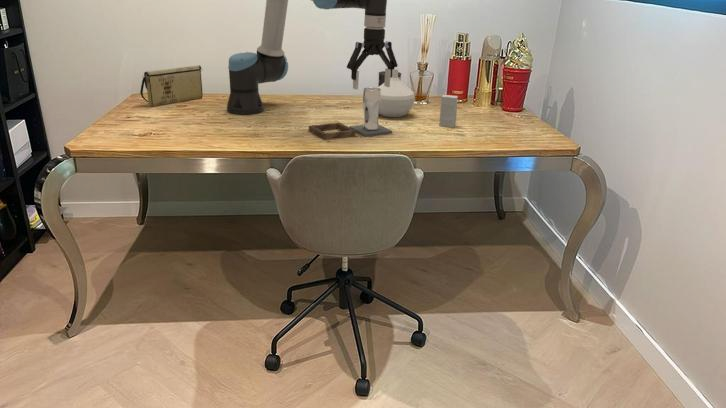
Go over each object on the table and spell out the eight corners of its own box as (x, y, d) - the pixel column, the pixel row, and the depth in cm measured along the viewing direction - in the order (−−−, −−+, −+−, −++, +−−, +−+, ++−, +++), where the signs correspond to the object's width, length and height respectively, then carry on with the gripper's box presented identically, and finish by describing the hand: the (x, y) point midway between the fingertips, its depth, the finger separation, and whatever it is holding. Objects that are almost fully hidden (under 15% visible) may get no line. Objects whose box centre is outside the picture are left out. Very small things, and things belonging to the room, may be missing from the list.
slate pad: (364, 136, 201) (364, 134, 201) (349, 128, 211) (349, 126, 210) (392, 133, 207) (392, 130, 207) (375, 125, 216) (376, 123, 216)
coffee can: (374, 104, 251) (375, 73, 246) (381, 100, 260) (383, 70, 255) (395, 107, 248) (397, 75, 242) (402, 102, 257) (404, 72, 251)
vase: (384, 121, 223) (386, 74, 215) (363, 111, 238) (365, 67, 230) (421, 117, 231) (425, 72, 223) (399, 108, 246) (402, 65, 238)
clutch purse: (197, 96, 256) (194, 63, 250) (206, 98, 252) (203, 65, 246) (138, 105, 234) (134, 70, 229) (147, 108, 230) (143, 72, 225)
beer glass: (380, 131, 205) (381, 90, 200) (361, 130, 205) (362, 90, 200) (379, 126, 212) (381, 87, 206) (361, 125, 212) (363, 87, 206)
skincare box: (455, 125, 221) (458, 95, 217) (453, 127, 218) (456, 97, 213) (440, 123, 223) (443, 94, 218) (438, 126, 219) (441, 96, 215)
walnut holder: (323, 139, 196) (323, 134, 195) (308, 130, 206) (308, 125, 206) (355, 135, 202) (355, 130, 201) (339, 127, 212) (339, 122, 212)
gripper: (348, 29, 185) (346, 91, 194) (409, 28, 197) (405, 87, 206) (338, 26, 191) (336, 87, 200) (398, 26, 203) (394, 83, 211)
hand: (371, 87), depth 203 cm, fingers open, 13 cm apart
